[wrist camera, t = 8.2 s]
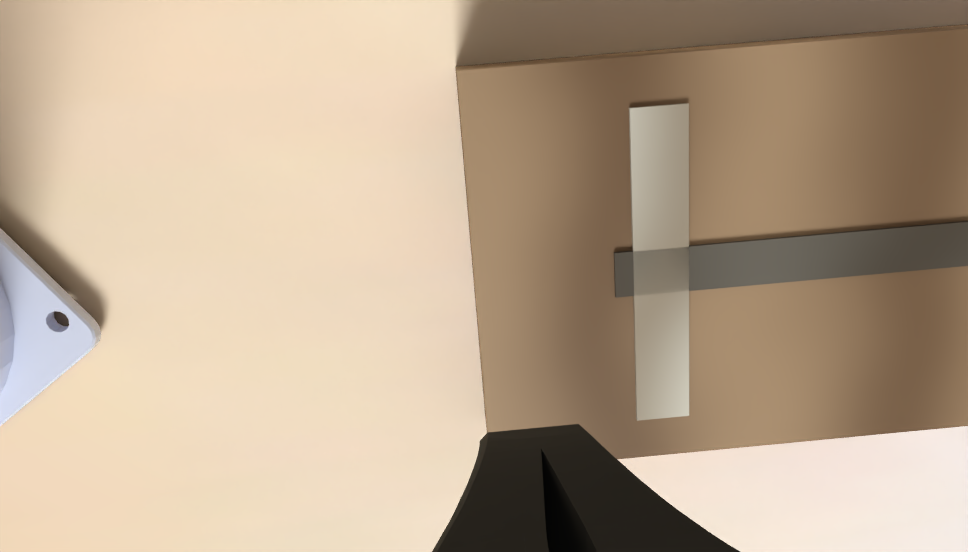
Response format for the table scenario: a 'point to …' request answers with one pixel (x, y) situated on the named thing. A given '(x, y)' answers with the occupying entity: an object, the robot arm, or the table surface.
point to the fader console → (723, 240)
